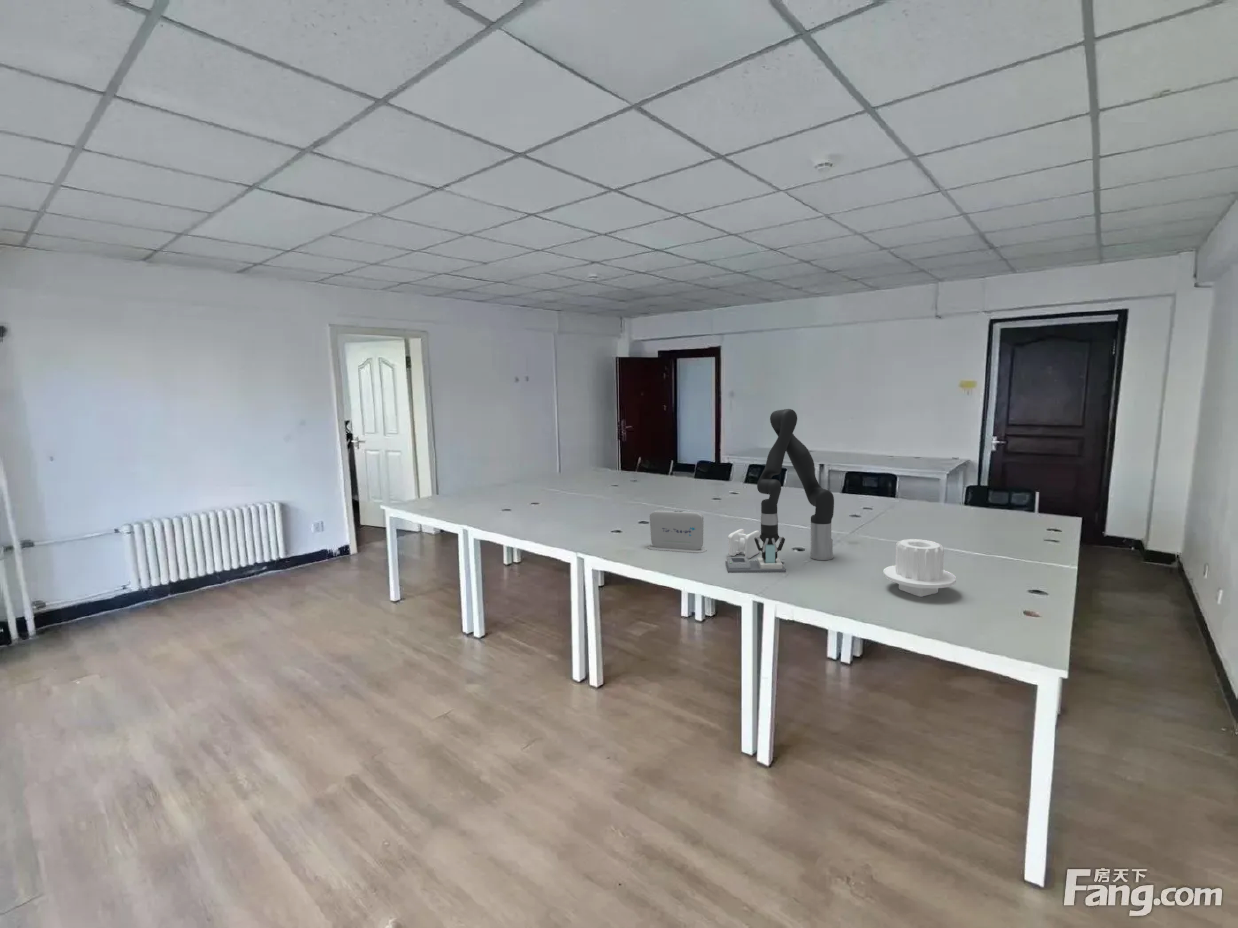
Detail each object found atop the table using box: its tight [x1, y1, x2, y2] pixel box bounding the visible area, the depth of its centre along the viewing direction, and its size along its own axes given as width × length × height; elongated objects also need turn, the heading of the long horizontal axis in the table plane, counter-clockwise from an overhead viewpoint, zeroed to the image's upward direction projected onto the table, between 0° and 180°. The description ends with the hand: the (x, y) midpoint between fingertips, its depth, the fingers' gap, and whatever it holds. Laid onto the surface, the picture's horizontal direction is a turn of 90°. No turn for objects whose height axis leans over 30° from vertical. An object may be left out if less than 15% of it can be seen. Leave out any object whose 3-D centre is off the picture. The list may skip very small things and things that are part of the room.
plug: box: [764, 544, 775, 563], centre depth 257 cm, size 4×5×10 cm
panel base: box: [724, 560, 786, 574], centre depth 258 cm, size 25×14×1 cm, turn 84°
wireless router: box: [647, 509, 708, 554], centre depth 292 cm, size 31×10×20 cm, turn 68°
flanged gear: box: [882, 538, 957, 598], centre depth 220 cm, size 25×25×19 cm
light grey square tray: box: [756, 557, 783, 569], centre depth 257 cm, size 10×10×2 cm
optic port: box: [726, 556, 750, 569], centre depth 259 cm, size 10×10×3 cm
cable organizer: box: [727, 528, 761, 560], centre depth 278 cm, size 15×11×12 cm
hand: (769, 559), depth 257 cm, fingers closed on plug, 4 cm apart
